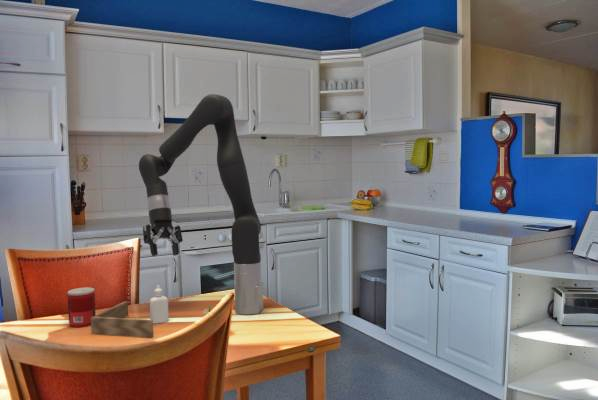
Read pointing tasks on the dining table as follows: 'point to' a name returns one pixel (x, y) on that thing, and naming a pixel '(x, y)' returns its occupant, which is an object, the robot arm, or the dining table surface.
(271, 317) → the dining table surface
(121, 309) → the corner arena
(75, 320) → the canned food
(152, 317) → the eye dropper bottle
